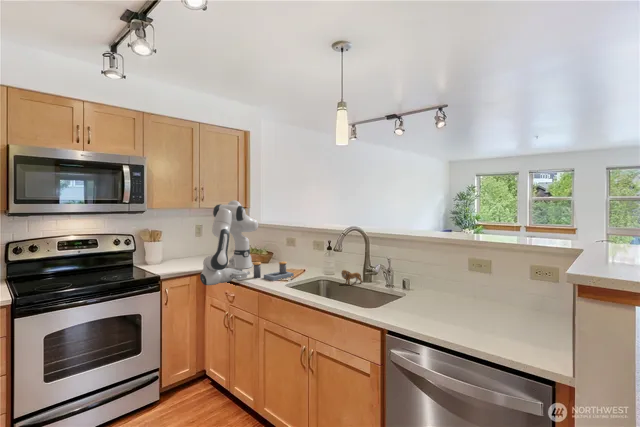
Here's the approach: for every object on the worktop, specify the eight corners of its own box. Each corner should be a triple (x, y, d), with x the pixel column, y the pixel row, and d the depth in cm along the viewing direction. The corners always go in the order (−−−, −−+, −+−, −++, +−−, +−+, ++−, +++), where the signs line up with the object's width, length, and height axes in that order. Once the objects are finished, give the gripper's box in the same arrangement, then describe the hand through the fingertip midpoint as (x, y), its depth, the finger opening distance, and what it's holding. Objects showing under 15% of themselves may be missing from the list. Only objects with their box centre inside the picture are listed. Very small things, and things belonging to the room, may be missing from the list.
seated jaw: (277, 276, 227) (276, 262, 226) (283, 275, 231) (283, 261, 230) (282, 278, 223) (282, 263, 222) (288, 276, 227) (288, 262, 226)
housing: (263, 278, 222) (263, 274, 222) (283, 274, 234) (283, 270, 234) (273, 280, 214) (273, 277, 214) (293, 276, 226) (293, 273, 226)
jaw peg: (251, 277, 225) (251, 262, 225) (258, 276, 229) (258, 261, 229) (256, 278, 221) (255, 263, 221) (263, 277, 225) (262, 262, 225)
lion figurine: (343, 285, 202) (343, 270, 201) (339, 283, 206) (339, 269, 206) (364, 283, 207) (364, 269, 206) (360, 281, 212) (360, 267, 211)
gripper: (235, 272, 201) (254, 269, 211) (218, 267, 216) (237, 264, 226) (235, 282, 202) (254, 278, 211) (219, 277, 216) (237, 274, 226)
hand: (245, 271), depth 219 cm, fingers open, 8 cm apart
